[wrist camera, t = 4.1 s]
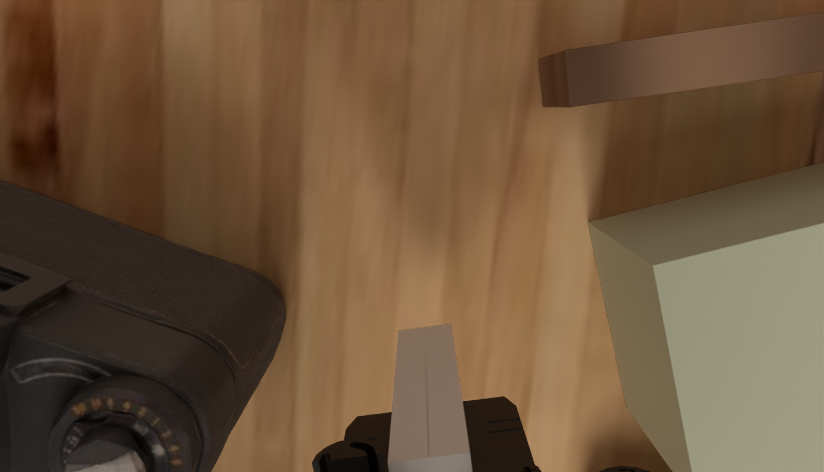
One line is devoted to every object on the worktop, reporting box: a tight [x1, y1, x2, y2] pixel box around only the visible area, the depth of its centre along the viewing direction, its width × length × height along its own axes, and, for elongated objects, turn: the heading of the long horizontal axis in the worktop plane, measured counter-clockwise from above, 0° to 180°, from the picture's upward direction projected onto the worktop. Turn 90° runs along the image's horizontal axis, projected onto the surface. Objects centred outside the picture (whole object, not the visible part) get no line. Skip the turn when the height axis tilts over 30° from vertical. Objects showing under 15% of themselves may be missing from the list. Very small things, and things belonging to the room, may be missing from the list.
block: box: [588, 162, 824, 472], centre depth 19 cm, size 9×7×6 cm
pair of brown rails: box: [539, 12, 824, 107], centre depth 20 cm, size 14×17×4 cm
